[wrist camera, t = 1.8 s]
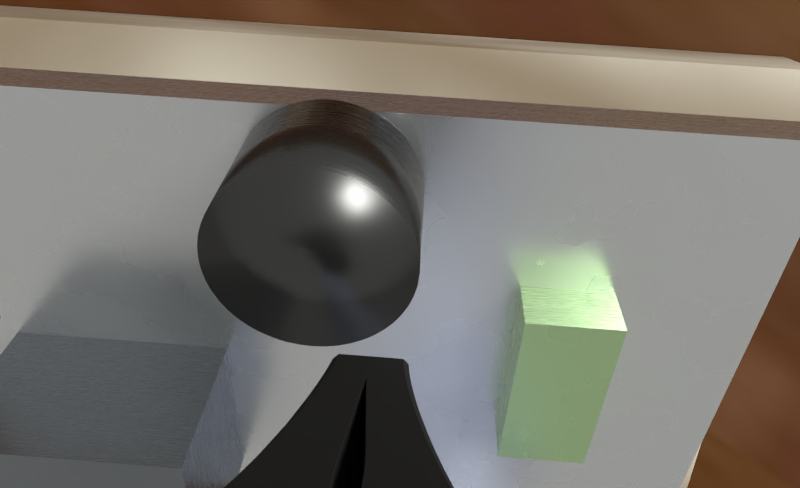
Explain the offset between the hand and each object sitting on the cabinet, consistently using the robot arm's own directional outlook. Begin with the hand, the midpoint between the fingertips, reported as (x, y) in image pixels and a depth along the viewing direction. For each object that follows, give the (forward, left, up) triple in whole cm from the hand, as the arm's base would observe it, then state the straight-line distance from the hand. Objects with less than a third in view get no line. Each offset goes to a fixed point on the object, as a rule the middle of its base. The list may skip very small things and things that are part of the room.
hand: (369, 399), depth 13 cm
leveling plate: (-2, +1, -6) cm, 7 cm away
